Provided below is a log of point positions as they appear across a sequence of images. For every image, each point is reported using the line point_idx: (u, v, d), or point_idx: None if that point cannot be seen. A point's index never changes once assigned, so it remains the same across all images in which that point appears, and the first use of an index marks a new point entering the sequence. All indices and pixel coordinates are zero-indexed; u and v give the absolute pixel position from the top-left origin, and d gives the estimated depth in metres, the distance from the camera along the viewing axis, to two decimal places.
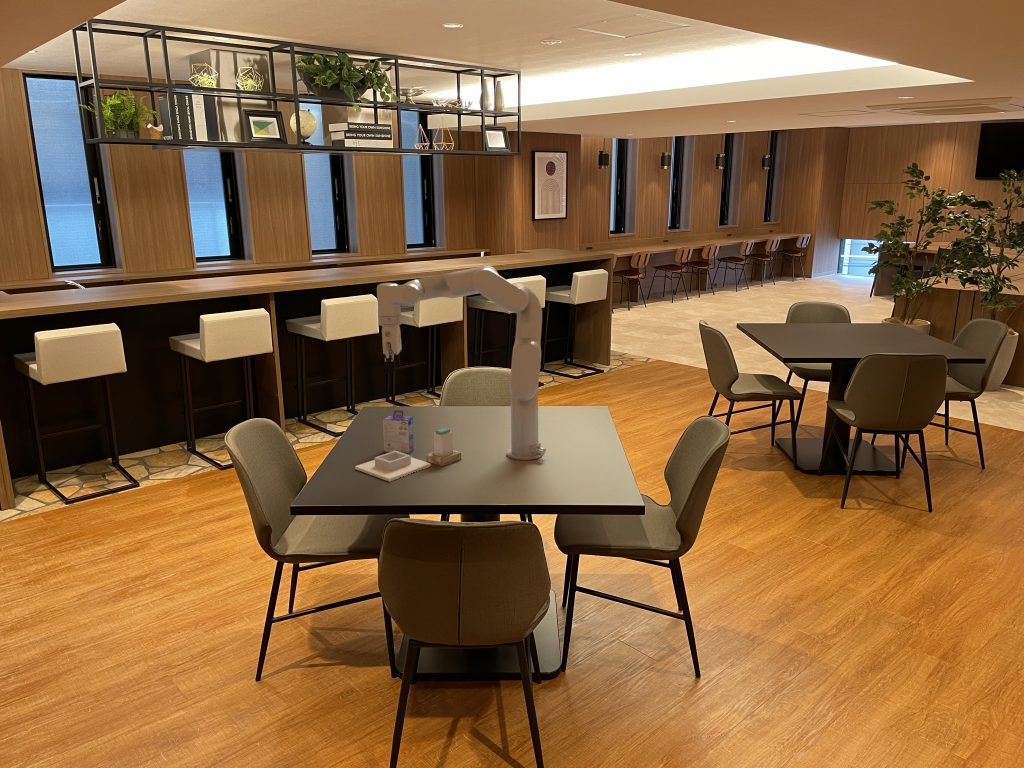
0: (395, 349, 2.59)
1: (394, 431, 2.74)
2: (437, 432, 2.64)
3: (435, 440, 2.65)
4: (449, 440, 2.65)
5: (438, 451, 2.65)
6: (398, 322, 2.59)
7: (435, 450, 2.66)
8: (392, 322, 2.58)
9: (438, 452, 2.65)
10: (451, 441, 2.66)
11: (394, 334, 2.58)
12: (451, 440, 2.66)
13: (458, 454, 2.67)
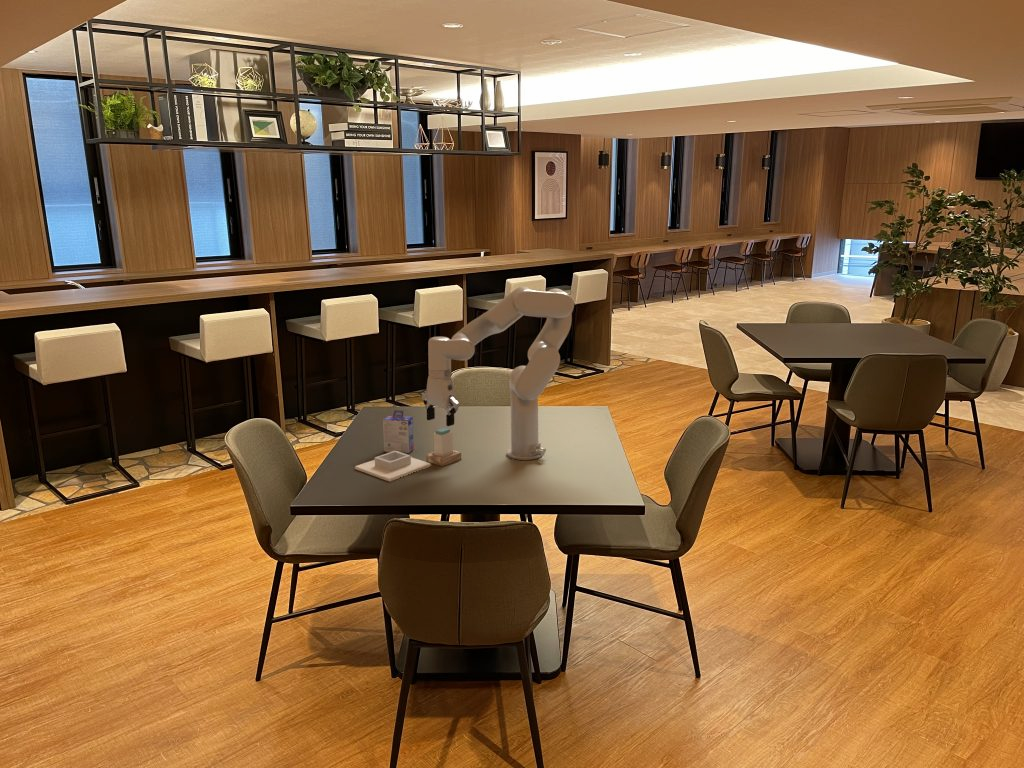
0: None
1: (394, 431, 2.74)
2: (437, 432, 2.64)
3: (435, 440, 2.65)
4: (449, 440, 2.65)
5: (438, 451, 2.65)
6: None
7: (435, 450, 2.66)
8: None
9: (438, 452, 2.65)
10: (451, 441, 2.66)
11: None
12: (451, 440, 2.66)
13: (458, 454, 2.67)
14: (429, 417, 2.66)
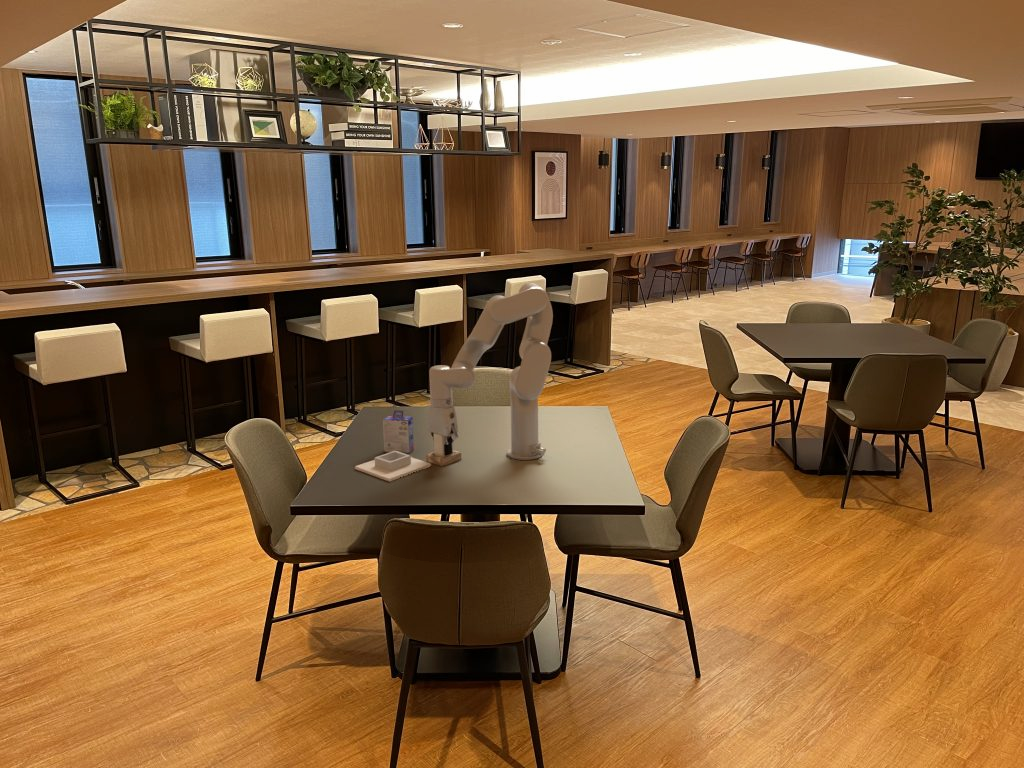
0: (457, 428, 2.63)
1: (394, 431, 2.74)
2: None
3: (435, 440, 2.65)
4: None
5: (438, 451, 2.65)
6: None
7: (435, 450, 2.66)
8: None
9: (438, 452, 2.65)
10: None
11: (455, 414, 2.62)
12: None
13: (458, 454, 2.67)
14: None
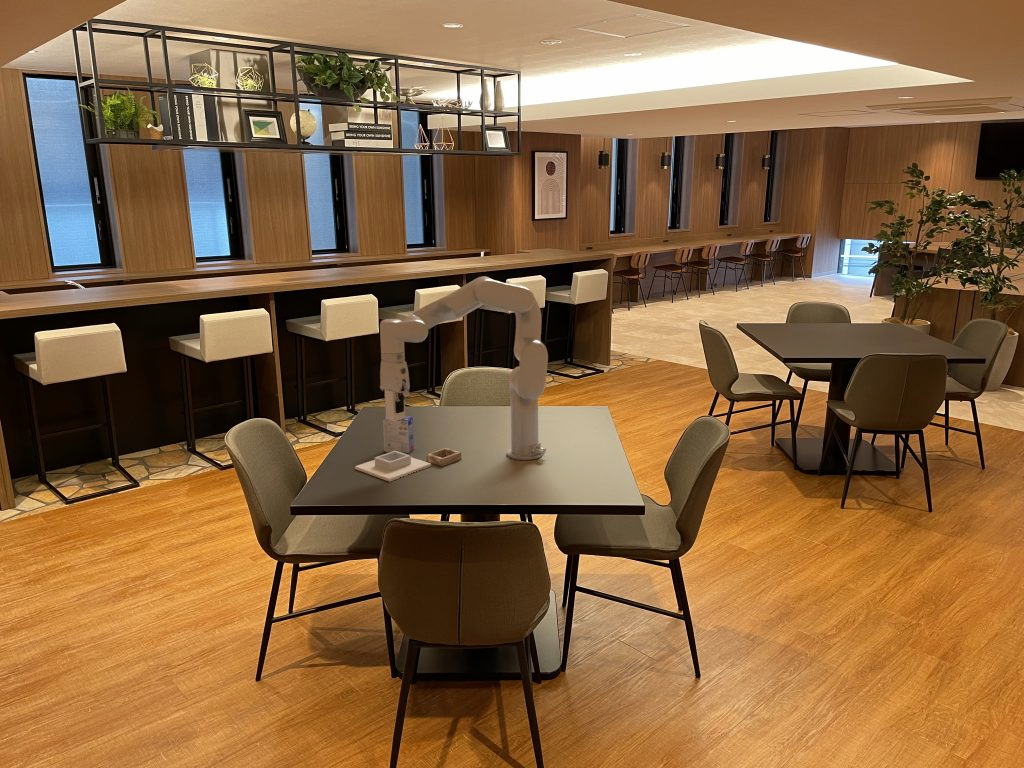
0: (409, 385, 2.53)
1: (394, 431, 2.74)
2: None
3: (386, 397, 2.55)
4: None
5: (389, 408, 2.55)
6: None
7: (386, 407, 2.56)
8: (403, 358, 2.51)
9: (389, 410, 2.55)
10: None
11: (407, 370, 2.52)
12: None
13: (458, 454, 2.67)
14: None
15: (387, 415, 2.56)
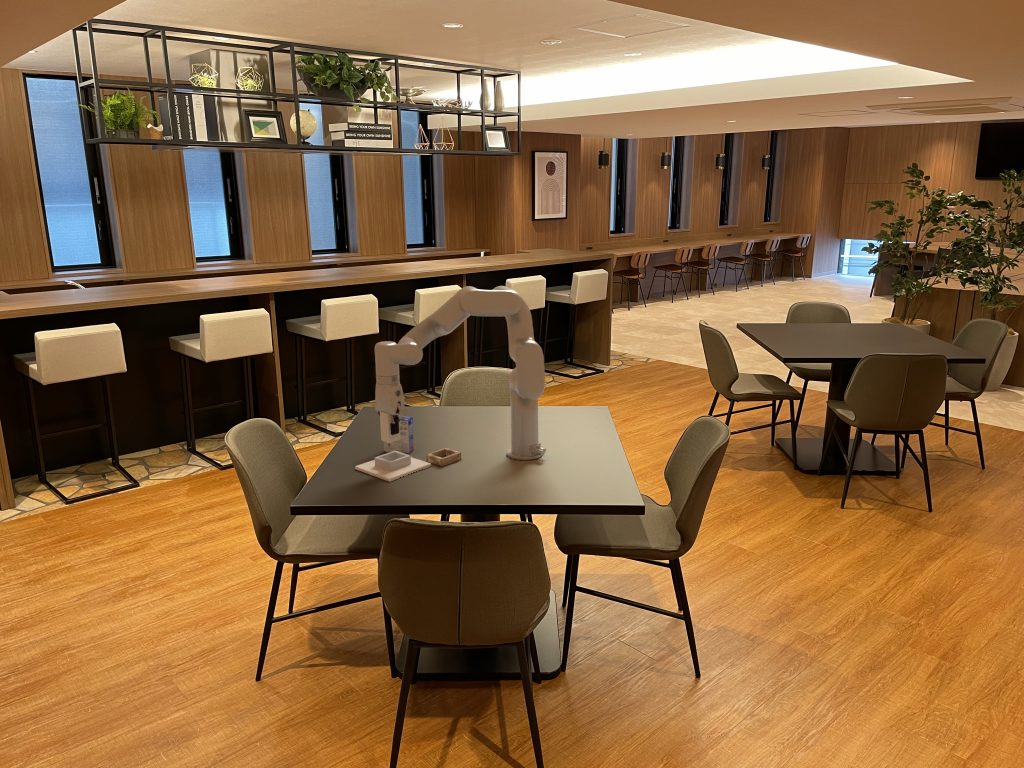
0: (404, 407, 2.54)
1: None
2: None
3: (381, 419, 2.56)
4: None
5: (384, 430, 2.56)
6: None
7: (381, 429, 2.57)
8: None
9: (384, 431, 2.56)
10: None
11: (402, 392, 2.53)
12: None
13: (458, 454, 2.67)
14: None
15: (382, 437, 2.57)
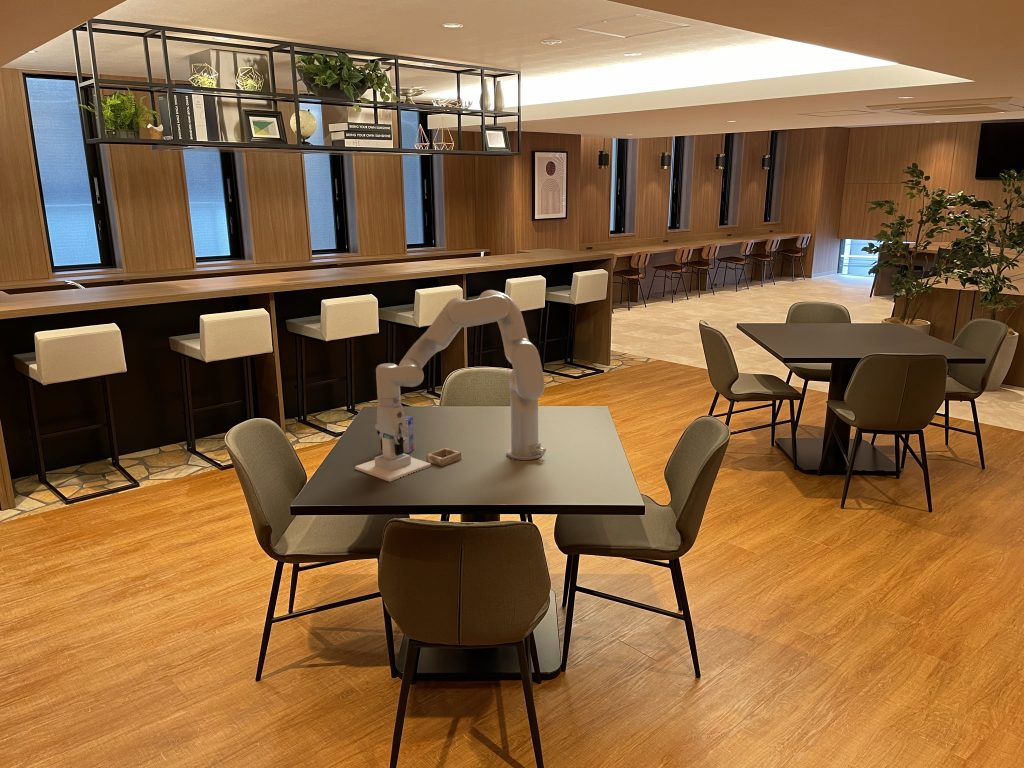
0: (405, 428, 2.56)
1: None
2: (385, 436, 2.57)
3: (383, 444, 2.58)
4: None
5: (386, 455, 2.58)
6: None
7: (384, 454, 2.59)
8: (399, 402, 2.54)
9: (386, 457, 2.59)
10: None
11: (403, 413, 2.55)
12: None
13: (458, 454, 2.67)
14: None
15: None
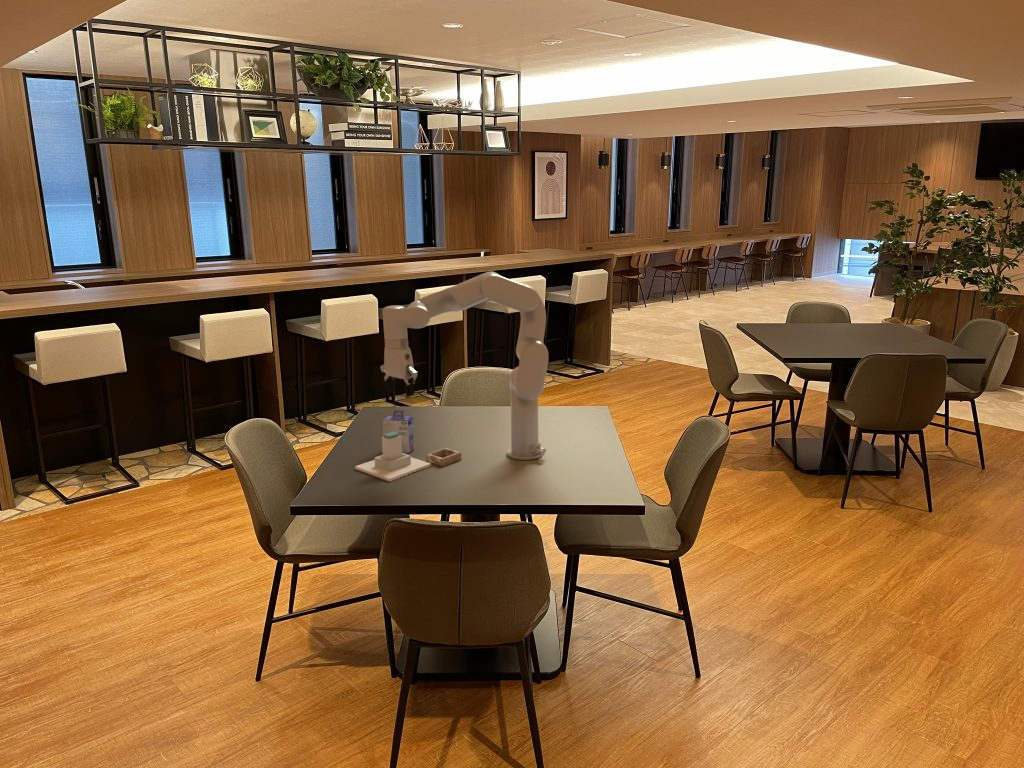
0: None
1: (394, 431, 2.74)
2: (385, 436, 2.57)
3: (383, 444, 2.58)
4: (398, 444, 2.59)
5: (386, 455, 2.58)
6: None
7: (384, 454, 2.59)
8: None
9: (386, 457, 2.59)
10: (400, 446, 2.60)
11: (411, 355, 2.54)
12: (400, 444, 2.60)
13: (458, 454, 2.67)
14: (389, 389, 2.61)
15: None
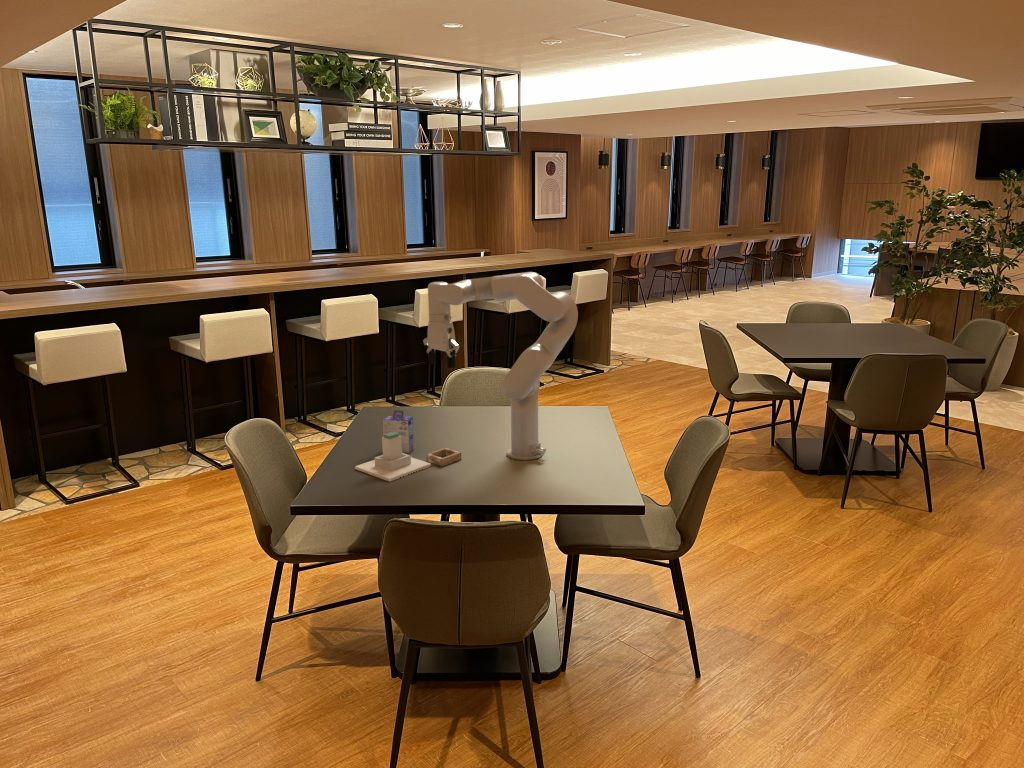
0: None
1: (394, 431, 2.74)
2: (385, 436, 2.57)
3: (383, 444, 2.58)
4: (398, 444, 2.59)
5: (386, 455, 2.58)
6: None
7: (384, 454, 2.59)
8: None
9: (386, 457, 2.59)
10: (400, 446, 2.60)
11: (453, 329, 2.69)
12: (400, 444, 2.60)
13: (458, 454, 2.67)
14: (431, 361, 2.76)
15: None
